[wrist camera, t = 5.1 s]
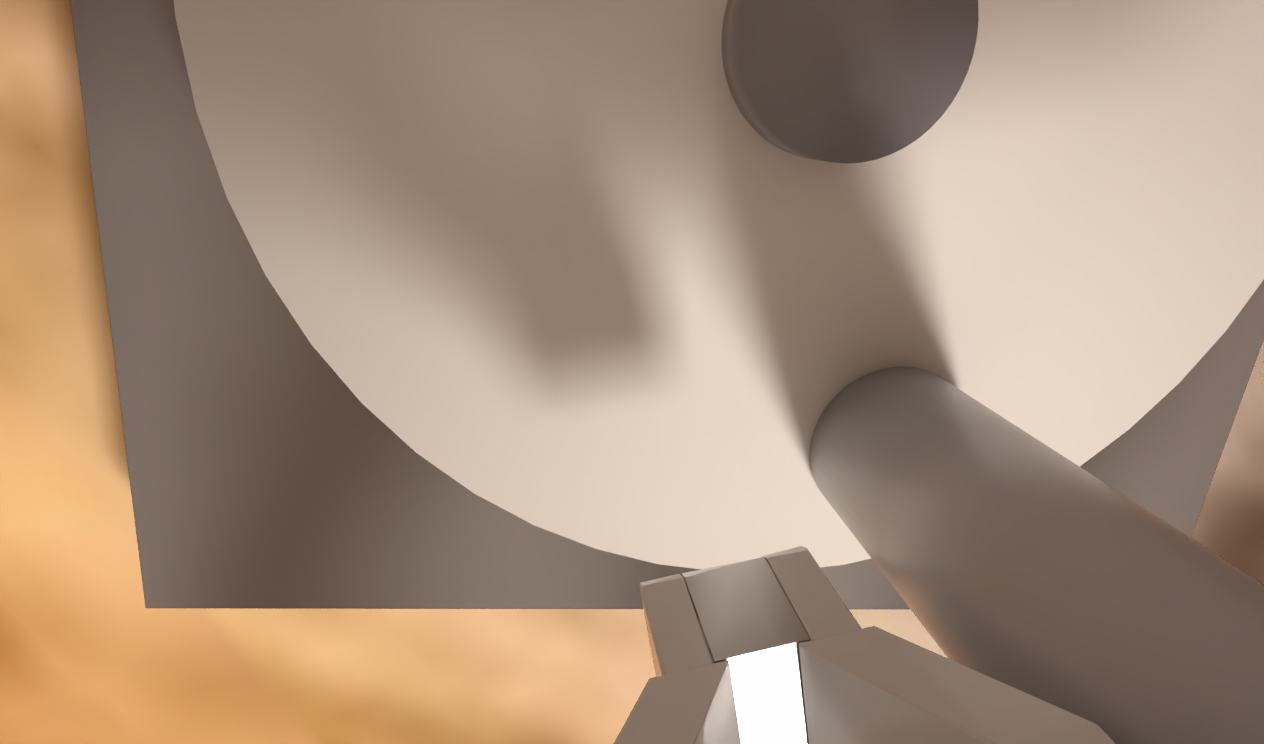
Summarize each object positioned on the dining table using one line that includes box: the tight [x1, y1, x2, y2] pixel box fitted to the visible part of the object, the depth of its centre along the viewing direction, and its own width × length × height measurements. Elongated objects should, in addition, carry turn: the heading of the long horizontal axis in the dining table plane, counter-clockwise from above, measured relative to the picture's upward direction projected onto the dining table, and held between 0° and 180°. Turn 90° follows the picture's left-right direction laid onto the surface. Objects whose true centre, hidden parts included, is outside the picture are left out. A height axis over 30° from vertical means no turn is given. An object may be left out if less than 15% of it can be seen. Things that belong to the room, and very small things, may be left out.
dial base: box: [70, 0, 1264, 609], centre depth 12 cm, size 20×20×2 cm
